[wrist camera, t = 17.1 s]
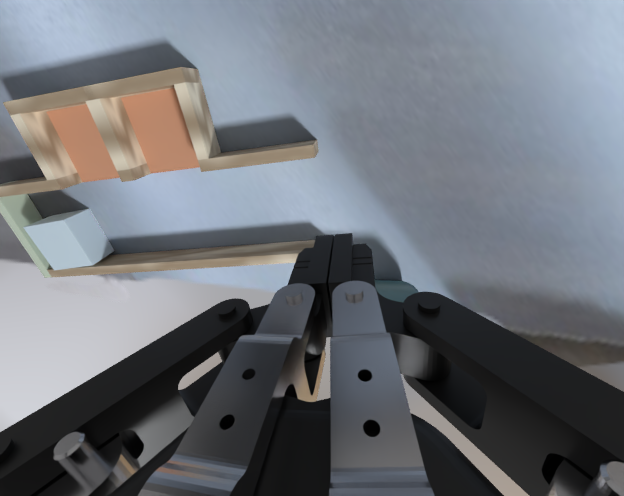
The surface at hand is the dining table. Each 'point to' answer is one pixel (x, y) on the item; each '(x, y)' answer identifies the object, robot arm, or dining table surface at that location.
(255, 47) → the dining table surface
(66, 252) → the pale blue block
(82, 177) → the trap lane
